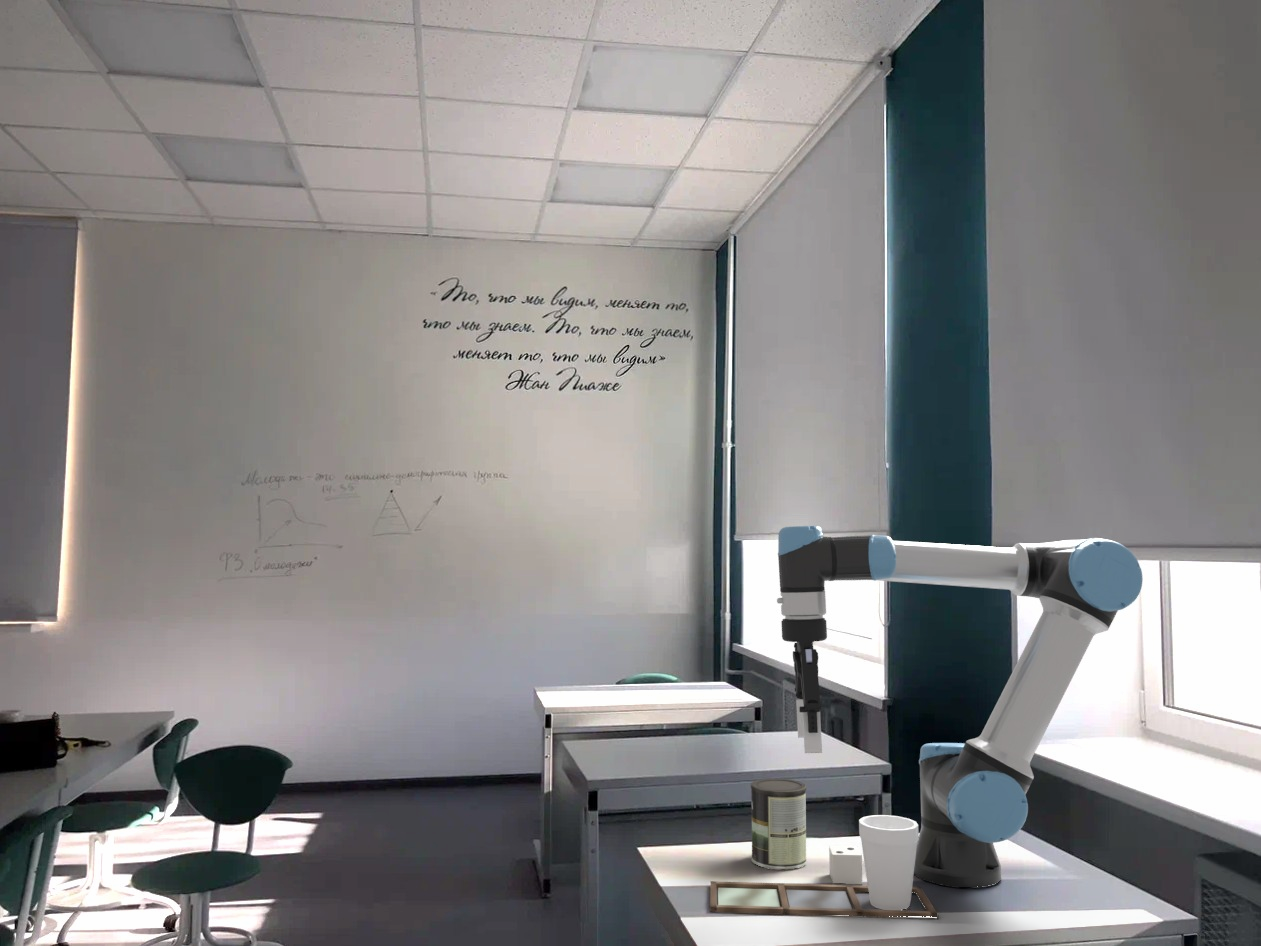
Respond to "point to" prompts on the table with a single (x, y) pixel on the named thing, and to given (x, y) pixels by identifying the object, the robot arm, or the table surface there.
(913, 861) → the foam cup
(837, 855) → the white die
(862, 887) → the walnut frame
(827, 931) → the table surface
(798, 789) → the coffee can
